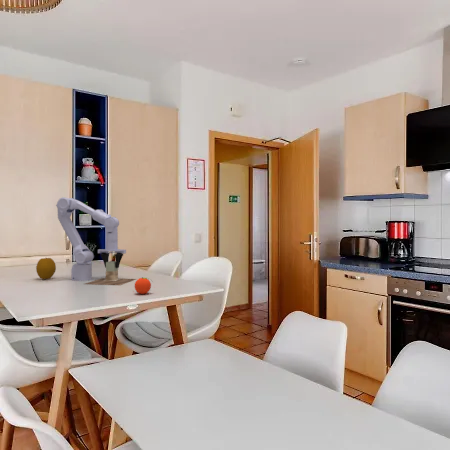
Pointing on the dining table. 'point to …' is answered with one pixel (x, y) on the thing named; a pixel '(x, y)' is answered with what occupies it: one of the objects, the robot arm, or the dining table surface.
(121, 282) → the board
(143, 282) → the tomato
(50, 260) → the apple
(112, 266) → the sage block
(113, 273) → the beech block
